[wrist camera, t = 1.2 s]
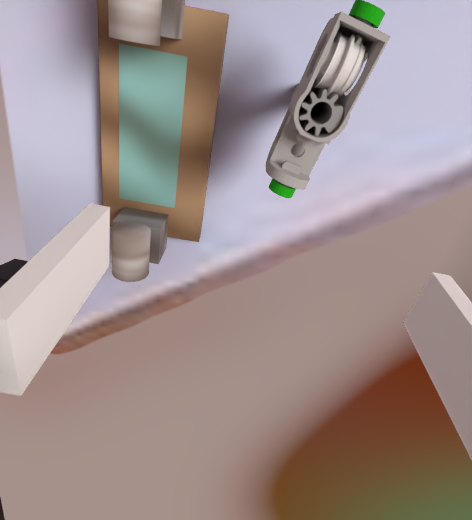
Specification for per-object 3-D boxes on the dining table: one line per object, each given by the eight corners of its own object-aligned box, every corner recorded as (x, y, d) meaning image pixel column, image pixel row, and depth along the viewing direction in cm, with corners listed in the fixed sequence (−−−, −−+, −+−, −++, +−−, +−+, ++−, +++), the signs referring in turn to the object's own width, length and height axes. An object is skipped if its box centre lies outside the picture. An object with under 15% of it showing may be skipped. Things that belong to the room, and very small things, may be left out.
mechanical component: (259, 147, 30) (258, 188, 22) (318, 9, 25) (347, -10, 17) (291, 161, 31) (303, 206, 22) (356, 28, 26) (403, 19, 17)
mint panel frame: (101, -76, 24) (46, -118, 18) (237, -48, 24) (228, -80, 18) (107, 234, 35) (76, 272, 29) (198, 250, 36) (185, 291, 30)
